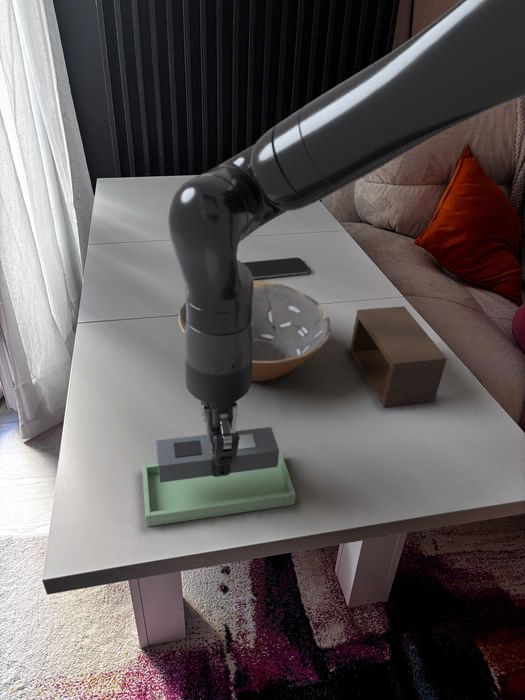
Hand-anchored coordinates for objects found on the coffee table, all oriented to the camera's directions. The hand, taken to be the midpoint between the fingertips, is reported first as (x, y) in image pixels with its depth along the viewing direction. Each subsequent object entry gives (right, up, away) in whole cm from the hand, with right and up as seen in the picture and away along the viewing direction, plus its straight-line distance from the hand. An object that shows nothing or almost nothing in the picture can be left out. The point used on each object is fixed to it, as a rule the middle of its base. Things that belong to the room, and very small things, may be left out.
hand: (217, 459), depth 71 cm
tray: (0, -5, +3) cm, 6 cm away
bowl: (+4, +11, +27) cm, 29 cm away
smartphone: (+9, +32, +56) cm, 66 cm away
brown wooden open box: (+28, +10, +26) cm, 40 cm away
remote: (0, 0, 0) cm, 0 cm away
